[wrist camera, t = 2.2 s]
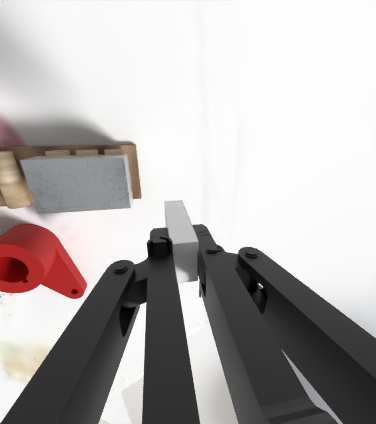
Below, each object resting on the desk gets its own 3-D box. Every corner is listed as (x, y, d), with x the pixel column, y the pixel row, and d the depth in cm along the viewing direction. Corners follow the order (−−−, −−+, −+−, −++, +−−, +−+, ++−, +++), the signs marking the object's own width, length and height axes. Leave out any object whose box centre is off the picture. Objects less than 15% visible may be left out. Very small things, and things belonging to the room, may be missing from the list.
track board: (-37, 206, 31) (-85, 226, 25) (-66, 148, 27) (-132, 153, 21) (141, 196, 35) (138, 211, 29) (135, 144, 32) (131, 148, 25)
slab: (52, 203, 29) (38, 213, 26) (37, 156, 26) (19, 160, 23) (133, 198, 31) (130, 207, 27) (127, 154, 28) (124, 157, 25)
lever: (-10, 240, 34) (-45, 264, 28) (34, 214, 33) (8, 233, 27) (66, 299, 42) (51, 328, 36) (102, 278, 41) (93, 304, 35)
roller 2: (83, 198, 33) (77, 205, 30) (64, 199, 32) (56, 206, 29) (72, 149, 29) (64, 151, 27) (51, 150, 29) (40, 152, 26)
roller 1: (22, 201, 32) (35, 203, 31) (3, 207, 29) (16, 209, 28) (3, 150, 28) (17, 151, 28) (-20, 152, 26) (-6, 153, 25)
